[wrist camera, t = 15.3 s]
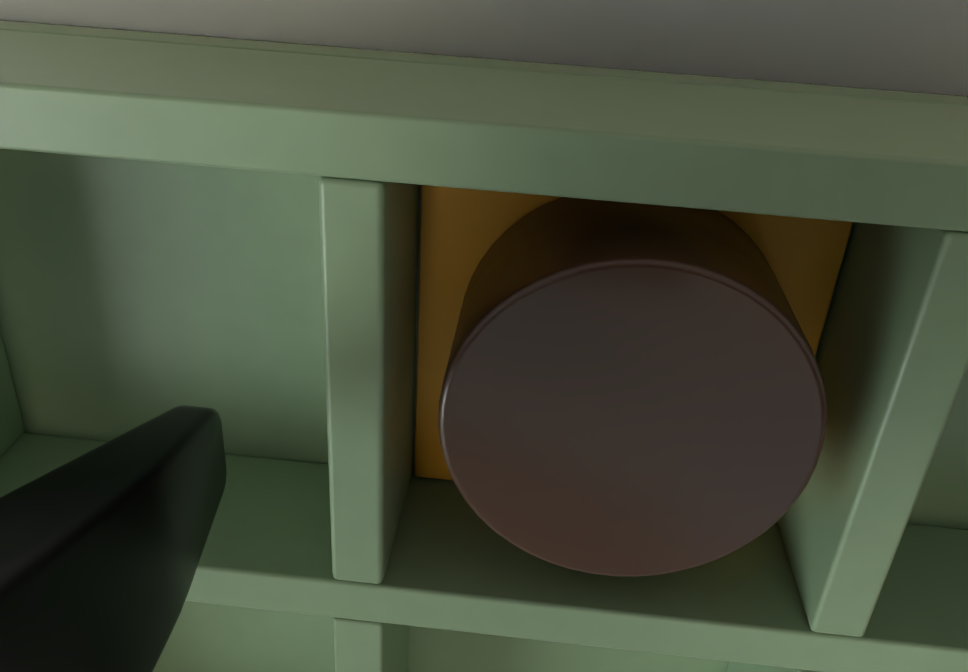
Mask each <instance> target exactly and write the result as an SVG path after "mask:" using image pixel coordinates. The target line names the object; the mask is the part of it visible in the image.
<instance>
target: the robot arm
mask: <svg viewBox="0 0 968 672" xmlns="http://www.w3.org/2000/svg"><path fill="white" fill-rule="evenodd" d="M226 474H227V469H226V459H225V450H224V440H223V431H222V422H221V418H220V415H219V413H218V412H217V411H216V410H215V409H214V408H208V407H198V406H188V405H180V406H177V407H174V408H172V409H170V410H169V411H167V412H165V413H163V414H161V415H159V416H157V417H155V418H153V419H151V420H149V421H147V422H145V423H143V424H141V425H139V426H138V427H136V428H134V429H132V430H130V431H128V432H126V433H124V434H122V435H120V436H118V437H116V438H114V439H112V440H110V441H108V442H107V443H105V444H103V445H101V446H99V447H97V448H95V449H93V450H91V451H89V452H87V453H85V454H83V455H81V456H79V457H77V458H76V459H74V460H72V461H70V462H68V463H66V464H64V465H62V466H60V467H58V468H56V469H54V470H52V471H50V472H48V473H46V474H44V475H43V476H41V477H39V478H37V479H35V480H33V481H31V482H29V483H27V484H25V485H23V486H21V487H19V488H17V489H15V490H13V491H11V492H10V493H8V494H6V495H4V496H2V497H0V672H153V670H154V668H155V666H156V664H157V662H158V659H159V657H160V655H161V653H162V651H163V649H164V647H165V645H166V643H167V641H168V639H169V637H170V635H171V633H172V631H173V628H174V626H175V624H176V622H177V620H178V617H179V615H180V613H181V611H182V608H183V605H184V603H185V600H186V597H187V595H188V592H189V589H190V586H191V584H192V581H193V578H194V575H195V572H196V569H197V566H198V564H199V561H200V558H201V555H202V552H203V549H204V546H205V544H206V541H207V538H208V535H209V532H210V529H211V526H212V524H213V521H214V518H215V515H216V512H217V509H218V506H219V504H220V501H221V498H222V495H223V492H224V488H225V484H226Z"/></svg>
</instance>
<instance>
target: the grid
mask: <svg viewBox="0 0 968 672" xmlns="http://www.w3.org/2000/svg"><path fill="white" fill-rule="evenodd" d="M560 197H569V198H581V199H592V200H604V201H615V202H627V203H639V204H650V205H662V206H673V207H685V208H696V209H708V210H718V211H719V212H721V213H722V214H724V215H725V216H726V217H728V218H729V219H731V220H732V221H733V222H735V223H736V224H737V225H738V226H739V227H740V228H741V229H742V230H743V231H744V232H745V233H747V234H748V235H749V236H750V237H751V239H752V240H753V241H754V242H755V244H756V245H757V246H758V248H759V249H760V250H761V251H762V253H763V254H764V256H765V258H766V259H767V261H768V263H769V265H770V267H771V268H772V270H773V272H774V274H775V276H776V278H777V280H778V282H779V284H780V286H781V288H782V290H783V292H784V294H785V296H786V298H787V300H788V302H789V304H790V306H791V309H792V311H793V313H794V315H795V317H796V319H797V321H798V323H799V325H800V327H801V329H802V331H803V333H804V335H805V337H806V339H807V341H808V343H809V345H810V347H811V349H812V351H813V353H814V355H815V357H816V360H817V363H818V365H819V368H820V371H821V374H822V376H823V381H824V386H825V392H826V397H827V425H826V432H825V439H824V444H823V447H822V450H821V453H820V456H819V460H818V463H817V466H816V468H815V470H814V472H813V474H812V476H811V478H810V480H809V482H808V484H807V486H806V487H805V489H804V490H803V492H802V493H801V494H800V496H799V497H798V499H797V500H796V502H795V503H794V504H793V505H792V506H791V507H790V509H789V510H788V511H787V512H786V513H785V514H784V515H783V516H782V518H781V519H779V520H778V521H777V522H776V523H775V524H774V525H773V526H771V527H770V528H769V529H768V530H767V531H766V532H764V533H763V534H762V535H760V536H759V537H757V538H756V539H754V540H753V541H751V542H750V543H748V544H747V545H745V546H744V547H742V548H740V549H738V550H736V551H734V552H732V553H730V554H728V555H727V556H724V557H722V558H719V559H717V560H714V561H712V562H709V563H707V564H704V565H701V566H697V567H694V568H690V569H687V570H683V571H678V572H673V573H667V574H662V575H652V576H640V577H623V576H607V575H598V574H590V573H585V572H581V571H576V570H571V569H568V568H565V567H561V566H558V565H555V564H552V563H549V562H547V561H544V560H542V559H540V558H538V557H535V556H533V555H531V554H529V553H527V552H525V551H523V550H522V549H520V548H518V547H516V546H515V545H513V544H511V543H510V542H508V541H507V540H506V539H504V538H503V537H502V536H500V535H499V534H498V533H496V532H495V531H493V530H492V529H491V528H490V527H489V526H488V525H487V524H486V523H485V522H484V521H483V520H482V519H481V518H480V517H479V516H478V515H477V514H476V513H475V512H474V510H473V509H472V508H471V507H470V505H469V504H468V503H467V502H466V501H465V499H464V497H463V496H462V494H461V492H460V491H459V489H458V488H457V486H456V484H455V483H454V481H453V478H452V476H451V474H450V471H449V469H448V467H447V465H446V462H445V459H444V455H443V451H442V447H441V444H440V436H439V427H438V411H439V399H440V394H441V390H442V385H443V380H444V376H445V372H446V368H447V364H448V360H449V356H450V352H451V348H452V344H453V340H454V335H455V331H456V327H457V323H458V319H459V315H460V311H461V307H462V303H463V299H464V295H465V292H466V290H467V287H468V284H469V282H470V279H471V277H472V275H473V273H474V271H475V269H476V268H477V266H478V264H479V262H480V260H481V259H482V258H483V256H484V255H485V254H486V252H487V251H488V250H489V248H490V247H491V245H492V244H493V243H494V242H495V241H496V240H497V239H498V238H499V237H500V236H501V235H502V234H503V233H504V232H505V231H506V230H507V229H508V228H509V227H511V226H512V225H513V224H515V223H516V222H517V221H518V220H520V219H521V218H522V217H524V216H525V215H527V214H529V213H530V212H532V211H534V210H535V209H537V208H539V207H540V206H542V205H544V204H547V203H549V202H551V201H553V200H556V199H558V198H560ZM180 405H188V406H198V407H208V408H214V409H215V410H216V411H217V412H218V413H219V415H220V418H221V422H222V431H223V440H224V450H225V459H226V469H227V474H226V484H225V488H224V492H223V495H222V498H221V501H220V504H219V506H218V509H217V512H216V515H215V518H214V521H213V524H212V526H211V529H210V532H209V535H208V538H207V541H206V544H205V546H204V549H203V552H202V555H201V558H200V561H199V564H198V566H197V569H196V572H195V575H194V578H193V581H192V584H191V586H190V589H189V592H188V595H187V597H186V600H185V603H184V605H183V608H182V611H181V613H180V615H179V617H178V620H177V622H176V624H175V626H174V628H173V631H172V633H171V635H170V637H169V639H168V641H167V643H166V645H165V647H164V649H163V651H162V653H161V655H160V657H159V659H158V662H157V664H156V666H155V668H154V670H153V672H968V97H965V96H952V95H939V94H927V93H914V92H901V91H889V90H876V89H863V88H851V87H838V86H825V85H813V84H800V83H787V82H774V81H762V80H749V79H736V78H724V77H711V76H698V75H686V74H673V73H660V72H648V71H635V70H622V69H610V68H597V67H584V66H572V65H559V64H546V63H533V62H521V61H508V60H495V59H483V58H470V57H457V56H445V55H432V54H419V53H407V52H394V51H381V50H369V49H356V48H343V47H331V46H318V45H305V44H292V43H280V42H267V41H254V40H242V39H229V38H216V37H204V36H191V35H178V34H166V33H153V32H140V31H128V30H115V29H102V28H89V27H77V26H64V25H51V24H39V23H26V22H13V21H1V20H0V497H2V496H4V495H6V494H8V493H10V492H11V491H13V490H15V489H17V488H19V487H21V486H23V485H25V484H27V483H29V482H31V481H33V480H35V479H37V478H39V477H41V476H43V475H44V474H46V473H48V472H50V471H52V470H54V469H56V468H58V467H60V466H62V465H64V464H66V463H68V462H70V461H72V460H74V459H76V458H77V457H79V456H81V455H83V454H85V453H87V452H89V451H91V450H93V449H95V448H97V447H99V446H101V445H103V444H105V443H107V442H108V441H110V440H112V439H114V438H116V437H118V436H120V435H122V434H124V433H126V432H128V431H130V430H132V429H134V428H136V427H138V426H139V425H141V424H143V423H145V422H147V421H149V420H151V419H153V418H155V417H157V416H159V415H161V414H163V413H165V412H167V411H169V410H170V409H172V408H174V407H177V406H180Z"/></svg>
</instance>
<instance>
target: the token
mask: <svg viewBox="0 0 968 672" xmlns="http://www.w3.org/2000/svg"><path fill="white" fill-rule="evenodd" d="M826 425H827V397H826V392H825V386H824V381H823V376H822V374H821V371H820V368H819V365H818V363H817V360H816V357H815V355H814V353H813V351H812V349H811V347H810V345H809V343H808V341H807V339H806V337H805V335H804V333H803V331H802V329H801V327H800V325H799V323H798V321H797V319H796V317H795V315H794V313H793V311H792V309H791V306H790V304H789V302H788V300H787V298H786V296H785V294H784V292H783V290H782V288H781V286H780V284H779V282H778V280H777V278H776V276H775V274H774V272H773V270H772V268H771V267H770V265H769V263H768V261H767V259H766V258H765V256H764V254H763V253H762V251H761V250H760V249H759V248H758V246H757V245H756V244H755V242H754V241H753V240H752V239H751V237H750V236H749V235H748V234H747V233H745V232H744V231H743V230H742V229H741V228H740V227H739V226H738V225H737V224H736V223H735V222H733V221H732V220H731V219H729V218H728V217H726V216H725V215H724V214H722V213H721V212H719V211H718V210H708V209H696V208H685V207H673V206H662V205H650V204H639V203H627V202H615V201H604V200H592V199H581V198H569V197H560V198H558V199H556V200H553V201H551V202H549V203H547V204H544V205H542V206H540V207H539V208H537V209H535V210H534V211H532V212H530V213H529V214H527V215H525V216H524V217H522V218H521V219H520V220H518V221H517V222H516V223H515V224H513V225H512V226H511V227H509V228H508V229H507V230H506V231H505V232H504V233H503V234H502V235H501V236H500V237H499V238H498V239H497V240H496V241H495V242H494V243H493V244H492V245H491V247H490V248H489V250H488V251H487V252H486V254H485V255H484V256H483V258H482V259H481V260H480V262H479V264H478V266H477V268H476V269H475V271H474V273H473V275H472V277H471V279H470V282H469V284H468V287H467V290H466V292H465V295H464V299H463V303H462V307H461V311H460V315H459V319H458V323H457V327H456V331H455V335H454V340H453V344H452V348H451V352H450V356H449V360H448V364H447V368H446V372H445V376H444V380H443V385H442V390H441V394H440V399H439V411H438V427H439V436H440V444H441V447H442V451H443V455H444V459H445V462H446V465H447V467H448V469H449V471H450V474H451V476H452V478H453V481H454V483H455V484H456V486H457V488H458V489H459V491H460V492H461V494H462V496H463V497H464V499H465V501H466V502H467V503H468V504H469V505H470V507H471V508H472V509H473V510H474V512H475V513H476V514H477V515H478V516H479V517H480V518H481V519H482V520H483V521H484V522H485V523H486V524H487V525H488V526H489V527H490V528H491V529H492V530H493V531H495V532H496V533H498V534H499V535H500V536H502V537H503V538H504V539H506V540H507V541H508V542H510V543H511V544H513V545H515V546H516V547H518V548H520V549H522V550H523V551H525V552H527V553H529V554H531V555H533V556H535V557H538V558H540V559H542V560H544V561H547V562H549V563H552V564H555V565H558V566H561V567H565V568H568V569H571V570H576V571H581V572H585V573H590V574H598V575H607V576H623V577H640V576H652V575H662V574H667V573H673V572H678V571H683V570H687V569H690V568H694V567H697V566H701V565H704V564H707V563H709V562H712V561H714V560H717V559H719V558H722V557H724V556H727V555H728V554H730V553H732V552H734V551H736V550H738V549H740V548H742V547H744V546H745V545H747V544H748V543H750V542H751V541H753V540H754V539H756V538H757V537H759V536H760V535H762V534H763V533H764V532H766V531H767V530H768V529H769V528H770V527H771V526H773V525H774V524H775V523H776V522H777V521H778V520H779V519H781V518H782V516H783V515H784V514H785V513H786V512H787V511H788V510H789V509H790V507H791V506H792V505H793V504H794V503H795V502H796V500H797V499H798V497H799V496H800V494H801V493H802V492H803V490H804V489H805V487H806V486H807V484H808V482H809V480H810V478H811V476H812V474H813V472H814V470H815V468H816V466H817V463H818V460H819V456H820V453H821V450H822V447H823V444H824V439H825V432H826Z"/></svg>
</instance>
